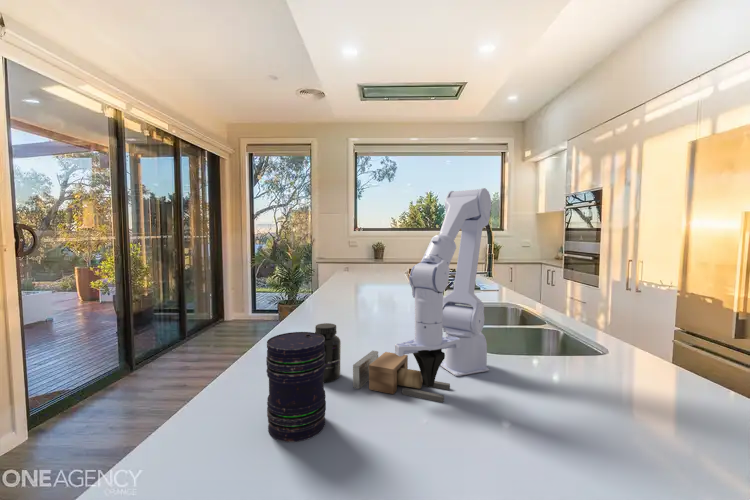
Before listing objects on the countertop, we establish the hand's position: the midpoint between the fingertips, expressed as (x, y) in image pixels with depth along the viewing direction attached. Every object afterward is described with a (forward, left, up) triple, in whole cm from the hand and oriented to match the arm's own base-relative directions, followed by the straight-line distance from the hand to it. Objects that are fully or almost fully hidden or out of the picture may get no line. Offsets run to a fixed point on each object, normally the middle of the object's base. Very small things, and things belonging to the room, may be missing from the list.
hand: (428, 384), depth 71 cm
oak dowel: (+4, -4, -1) cm, 5 cm away
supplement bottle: (+18, -15, -2) cm, 24 cm away
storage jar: (+27, +3, -2) cm, 28 cm away
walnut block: (+6, -6, -1) cm, 9 cm away
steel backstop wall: (+10, -10, -1) cm, 14 cm away
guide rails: (0, 0, -1) cm, 1 cm away
